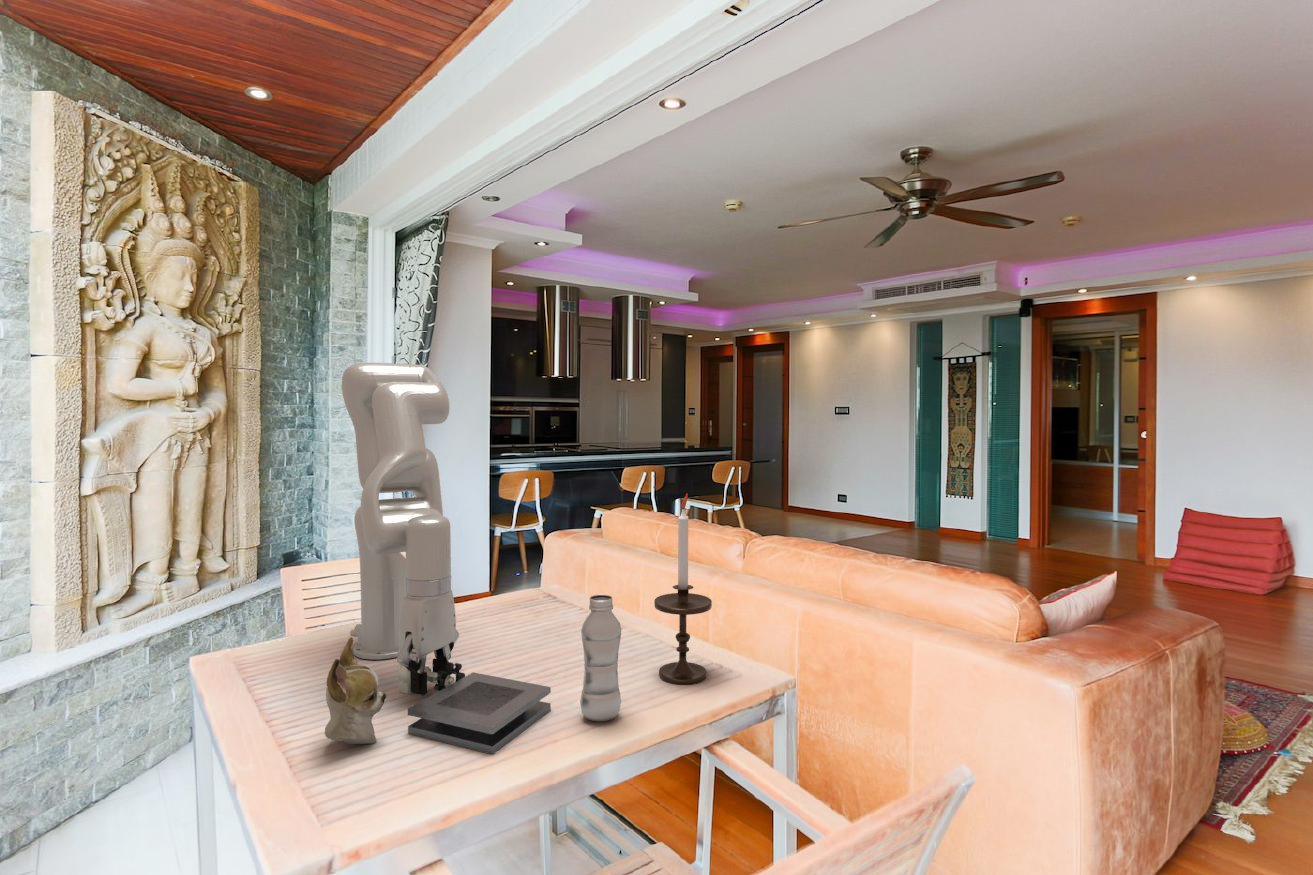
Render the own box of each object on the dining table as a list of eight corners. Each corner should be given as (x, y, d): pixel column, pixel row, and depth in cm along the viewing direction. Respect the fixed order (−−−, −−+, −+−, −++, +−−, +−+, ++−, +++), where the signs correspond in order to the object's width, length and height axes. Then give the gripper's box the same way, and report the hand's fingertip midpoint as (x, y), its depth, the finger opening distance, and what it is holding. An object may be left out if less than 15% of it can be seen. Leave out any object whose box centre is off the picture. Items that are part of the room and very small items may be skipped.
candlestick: (719, 670, 134) (720, 491, 132) (698, 691, 124) (699, 497, 122) (668, 661, 138) (668, 488, 137) (644, 680, 129) (645, 494, 127)
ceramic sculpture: (380, 759, 100) (379, 657, 99) (316, 765, 98) (314, 661, 97) (392, 725, 110) (391, 633, 110) (334, 730, 109) (332, 637, 108)
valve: (387, 694, 122) (438, 707, 117) (387, 657, 122) (438, 669, 117) (416, 681, 128) (465, 693, 123) (415, 646, 128) (465, 657, 122)
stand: (408, 733, 108) (407, 708, 107) (473, 694, 122) (473, 672, 122) (492, 754, 101) (492, 727, 101) (550, 710, 116) (550, 687, 116)
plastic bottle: (580, 709, 116) (580, 592, 115) (620, 708, 117) (620, 591, 116) (579, 727, 110) (579, 603, 109) (622, 725, 110) (622, 602, 110)
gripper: (444, 573, 131) (445, 667, 132) (375, 596, 115) (377, 702, 116) (476, 577, 128) (477, 673, 129) (410, 601, 112) (412, 710, 113)
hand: (430, 686), depth 122 cm, fingers closed on valve, 4 cm apart
